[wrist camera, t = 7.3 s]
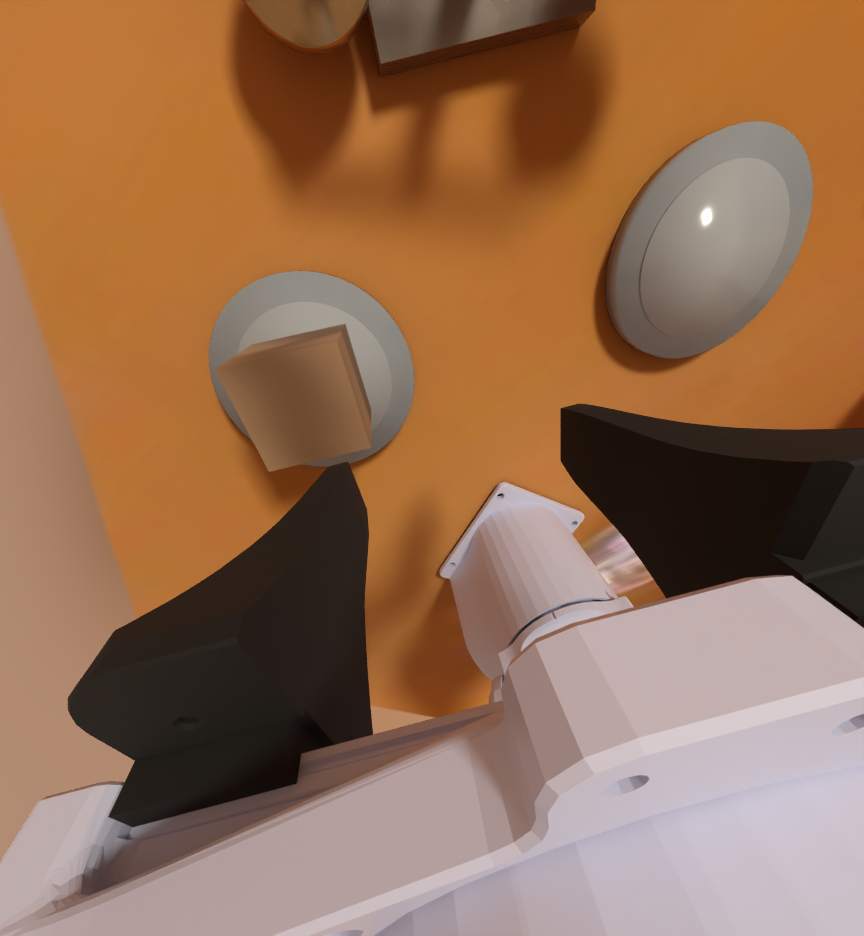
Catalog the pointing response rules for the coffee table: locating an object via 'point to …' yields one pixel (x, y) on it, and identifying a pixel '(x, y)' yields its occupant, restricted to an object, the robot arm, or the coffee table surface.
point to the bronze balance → (416, 25)
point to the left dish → (312, 308)
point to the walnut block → (300, 397)
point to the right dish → (709, 240)
